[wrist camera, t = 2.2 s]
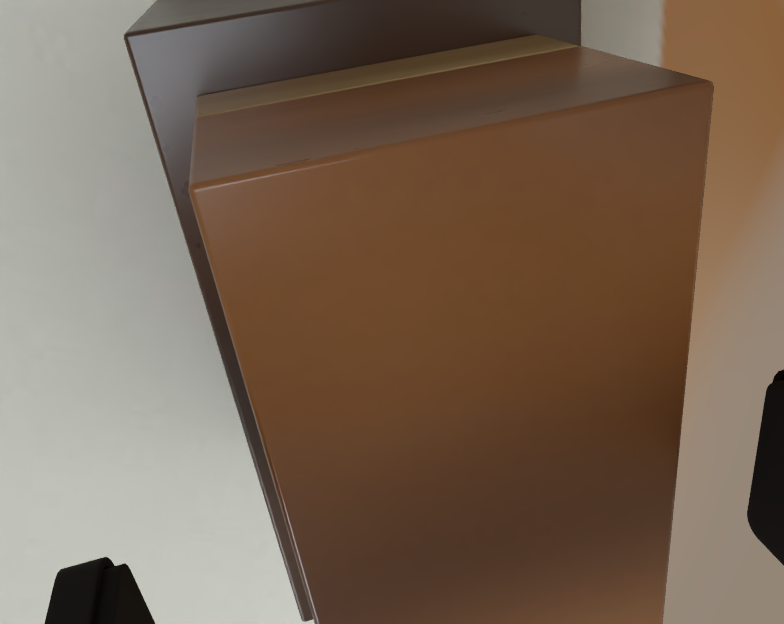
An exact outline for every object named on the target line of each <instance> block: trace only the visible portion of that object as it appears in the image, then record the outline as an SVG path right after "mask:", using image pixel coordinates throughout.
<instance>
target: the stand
mask: <svg viewBox="0 0 784 624" xmlns="http://www.w3.org/2000/svg"><path fill="white" fill-rule="evenodd" d="M536 34H538V35H541V36H545V37H549V38H552V39H556V40H560V41H563V42H567V43H571V44H575V45H578V46H581V0H157V1H156V2H155V3H154V4H153V5H152V6H151V7H150V8H149V9H148V10H147V11H146V12H145V13H144V14H143V15H142V16H141V17H140V18H139V19H138V20H137V21H136V22H135V23H134V24H133V26H132V27H131V28H130V29H129V30H128V31H127V32H126V33H125V34H124V40H125V44H126V47H127V50H128V53H129V57H130V60H131V63H132V67H133V70H134V73H135V76H136V80H137V83H138V86H139V89H140V93H141V96H142V99H143V103H144V106H145V109H146V112H147V116H148V119H149V122H150V125H151V129H152V132H153V135H154V138H155V142H156V145H157V148H158V152H159V155H160V158H161V161H162V165H163V168H164V171H165V174H166V178H167V181H168V184H169V188H170V191H171V194H172V197H173V201H174V204H175V207H176V210H177V214H178V217H179V220H180V224H181V227H182V230H183V233H184V237H185V240H186V243H187V246H188V250H189V253H190V256H191V260H192V263H193V266H194V269H195V273H196V276H197V279H198V282H199V286H200V289H201V292H202V295H203V299H204V302H205V305H206V309H207V312H208V315H209V318H210V322H211V325H212V328H213V331H214V335H215V338H216V341H217V345H218V348H219V351H220V354H221V358H222V361H223V364H224V367H225V371H226V374H227V377H228V381H229V384H230V387H231V390H232V394H233V397H234V400H235V403H236V407H237V410H238V413H239V417H240V420H241V423H242V426H243V430H244V433H245V436H246V439H247V443H248V446H249V449H250V452H251V456H252V459H253V462H254V466H255V469H256V472H257V475H258V479H259V482H260V485H261V488H262V492H263V495H264V498H265V502H266V505H267V508H268V511H269V515H270V518H271V521H272V524H273V528H274V531H275V534H276V538H277V541H278V544H279V547H280V551H281V554H282V557H283V560H284V564H285V567H286V570H287V574H288V577H289V580H290V583H291V587H292V590H293V593H294V596H295V600H296V603H297V606H298V609H299V613H300V616H301V619H302V621H309V620H312V619H313V616H312V612H311V609H310V606H309V602H308V599H307V595H306V592H305V588H304V585H303V582H302V578H301V575H300V571H299V568H298V565H297V561H296V558H295V554H294V551H293V547H292V544H291V541H290V537H289V534H288V530H287V527H286V523H285V520H284V517H283V513H282V510H281V506H280V503H279V500H278V496H277V493H276V489H275V486H274V482H273V479H272V476H271V472H270V469H269V465H268V462H267V458H266V455H265V452H264V448H263V445H262V441H261V438H260V435H259V431H258V428H257V424H256V421H255V417H254V414H253V411H252V407H251V404H250V400H249V397H248V394H247V390H246V387H245V383H244V380H243V376H242V373H241V370H240V366H239V363H238V359H237V356H236V352H235V349H234V346H233V342H232V339H231V335H230V332H229V329H228V325H227V322H226V318H225V315H224V311H223V308H222V305H221V301H220V298H219V294H218V291H217V287H216V284H215V281H214V277H213V274H212V270H211V267H210V264H209V260H208V257H207V253H206V250H205V246H204V243H203V240H202V236H201V233H200V229H199V226H198V223H197V219H196V216H195V212H194V209H193V205H192V202H191V199H190V195H189V192H188V189H189V177H190V165H191V153H192V141H193V129H194V118H195V106H196V98H197V97H199V96H201V95H207V94H212V93H218V92H223V91H229V90H234V89H240V88H245V87H251V86H256V85H262V84H267V83H273V82H278V81H284V80H289V79H295V78H300V77H305V76H311V75H316V74H322V73H327V72H333V71H338V70H344V69H349V68H355V67H360V66H366V65H371V64H377V63H382V62H388V61H393V60H399V59H404V58H410V57H415V56H421V55H426V54H432V53H437V52H443V51H448V50H454V49H459V48H465V47H470V46H476V45H481V44H486V43H492V42H497V41H503V40H508V39H514V38H519V37H525V36H530V35H536Z"/></svg>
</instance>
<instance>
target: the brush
mask: <svg viewBox="0 0 784 624" xmlns="http://www.w3.org/2000/svg"><path fill="white" fill-rule="evenodd" d="M713 91H714V86H713V83H712V82H711V81H708V80H705V79H701V78H698V77H693V76H690V75H686V74H683V73H679V72H675V71H672V70H668V69H664V68H660V67H657V66H653V65H649V64H646V63H642V62H638V61H634V60H631V59H627V58H623V57H620V56H616V55H612V54H608V53H605V52H601V51H597V50H594V49H590V48H586V47H582V46H578V45H575V44H571V43H567V42H563V41H560V40H556V39H552V38H549V37H545V36H541V35H538V34H536V35H530V36H525V37H519V38H514V39H508V40H503V41H497V42H492V43H486V44H481V45H476V46H470V47H465V48H459V49H454V50H448V51H443V52H437V53H432V54H426V55H421V56H415V57H410V58H404V59H399V60H393V61H388V62H382V63H377V64H371V65H366V66H360V67H355V68H349V69H344V70H338V71H333V72H327V73H322V74H316V75H311V76H305V77H300V78H295V79H289V80H284V81H278V82H273V83H267V84H262V85H256V86H251V87H245V88H240V89H234V90H229V91H223V92H218V93H212V94H207V95H201V96H199V97H197V98H196V106H195V118H194V129H193V141H192V153H191V165H190V177H189V189H188V192H189V195H190V199H191V202H192V205H193V209H194V212H195V216H196V219H197V223H198V226H199V229H200V233H201V236H202V240H203V243H204V246H205V250H206V253H207V257H208V260H209V264H210V267H211V270H212V274H213V277H214V281H215V284H216V287H217V291H218V294H219V298H220V301H221V305H222V308H223V311H224V315H225V318H226V322H227V325H228V329H229V332H230V335H231V339H232V342H233V346H234V349H235V352H236V356H237V359H238V363H239V366H240V370H241V373H242V376H243V380H244V383H245V387H246V390H247V394H248V397H249V400H250V404H251V407H252V411H253V414H254V417H255V421H256V424H257V428H258V431H259V435H260V438H261V441H262V445H263V448H264V452H265V455H266V458H267V462H268V465H269V469H270V472H271V476H272V479H273V482H274V486H275V489H276V493H277V496H278V500H279V503H280V506H281V510H282V513H283V517H284V520H285V523H286V527H287V530H288V534H289V537H290V541H291V544H292V547H293V551H294V554H295V558H296V561H297V565H298V568H299V571H300V575H301V578H302V582H303V585H304V588H305V592H306V595H307V599H308V602H309V606H310V609H311V612H312V616H313V619H314V623H315V624H662V623H663V614H664V603H665V593H666V582H667V572H668V561H669V551H670V540H671V530H672V520H673V509H674V499H675V488H676V478H677V467H678V456H679V446H680V435H681V424H682V415H683V404H684V394H685V384H686V373H687V363H688V352H689V342H690V331H691V321H692V310H693V300H694V289H695V279H696V268H697V257H698V247H699V237H700V226H701V216H702V206H703V195H704V185H705V174H706V164H707V153H708V143H709V132H710V122H711V121H710V120H711V111H712V101H713Z"/></svg>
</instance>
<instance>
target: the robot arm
mask: <svg viewBox="0 0 784 624" xmlns="http://www.w3.org/2000/svg"><path fill="white" fill-rule="evenodd" d="M747 516H748V522H749V524H750V527H751V529H752V531H753V532H754V534H755V535H756V537H757V538H758V539H759V540H760V541H761V542H762V543H763V544H764V545H765V546H766V547H767V549H769V550H770V552H771V553H772V554H773V555H774V556H775V557H776V558H777V559H778V560H779V561H780V562H781V563H782V564H783V565H784V370H782V371H778V373H777V374H776V375H775V376H774V379H773V382H772V384H770V385H769V386H768V388H767V391H766V396H765V402H764V409H763V416H762V422H761V428H760V434H759V441H758V447H757V453H756V460H755V466H754V473H753V480H752V485H751V492H750V498H749V505H748V511H747ZM45 624H155V622H154V620H153V618H152V616H151V614H150V611H149V609H148V607H147V605H146V603H145V601H144V598H143V596H142V594H141V592H140V590H139V588H138V585H137V583H136V581H135V579H134V577H133V575H132V573H131V570H130V569H129V567H128V565H126V564H122V565H118V566H114V564H113V563H112V561H111V560H110V559H109V558H108V557H104V558H100V559H97V560H93V561H89V562H86V563H82V564H78V565H75V566H71V567H68V568H64V569H61V570H60V571H59V572H58V573H57V576H56V579H55V582H54V586H53V591H52V595H51V599H50V603H49V608H48V612H47V616H46V620H45Z"/></svg>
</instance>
